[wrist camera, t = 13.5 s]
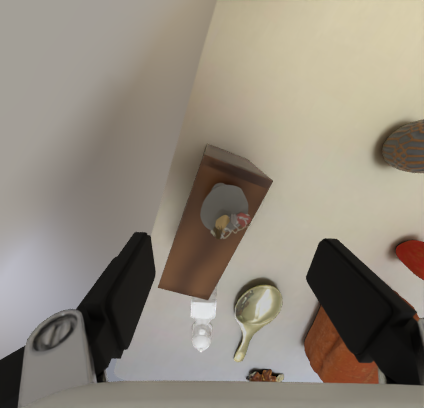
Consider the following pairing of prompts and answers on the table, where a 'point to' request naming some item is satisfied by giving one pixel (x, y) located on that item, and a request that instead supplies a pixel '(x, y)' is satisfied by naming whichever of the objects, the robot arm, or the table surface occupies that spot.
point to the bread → (336, 354)
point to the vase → (406, 148)
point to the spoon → (255, 313)
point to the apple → (412, 256)
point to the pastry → (265, 377)
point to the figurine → (225, 210)
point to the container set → (202, 320)
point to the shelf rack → (200, 235)
